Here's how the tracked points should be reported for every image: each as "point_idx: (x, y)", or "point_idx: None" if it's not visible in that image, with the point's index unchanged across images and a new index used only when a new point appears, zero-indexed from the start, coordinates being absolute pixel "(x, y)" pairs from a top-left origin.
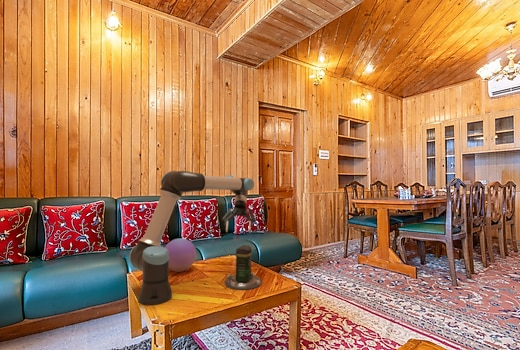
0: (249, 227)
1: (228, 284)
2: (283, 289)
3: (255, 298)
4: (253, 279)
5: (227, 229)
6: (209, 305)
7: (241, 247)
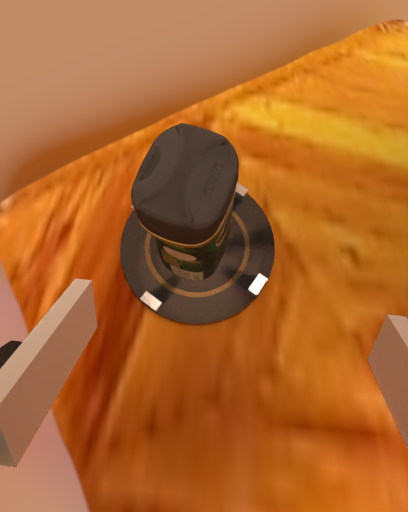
0: (68, 303)
1: (256, 206)
2: (57, 177)
3: (166, 119)
4: (152, 248)
5: (384, 364)
6: (303, 89)
7: (203, 142)
